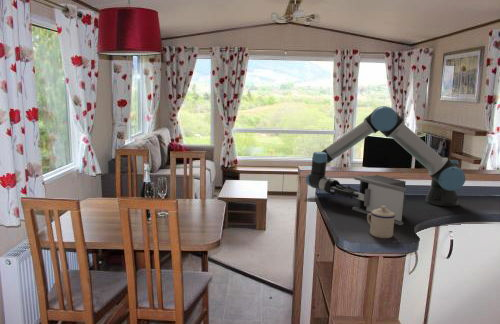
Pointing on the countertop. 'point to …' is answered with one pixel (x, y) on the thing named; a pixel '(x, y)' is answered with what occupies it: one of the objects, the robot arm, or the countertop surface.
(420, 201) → the countertop surface
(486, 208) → the countertop surface
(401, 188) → the small gray cabinet
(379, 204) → the side door
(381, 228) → the teacup with lid
